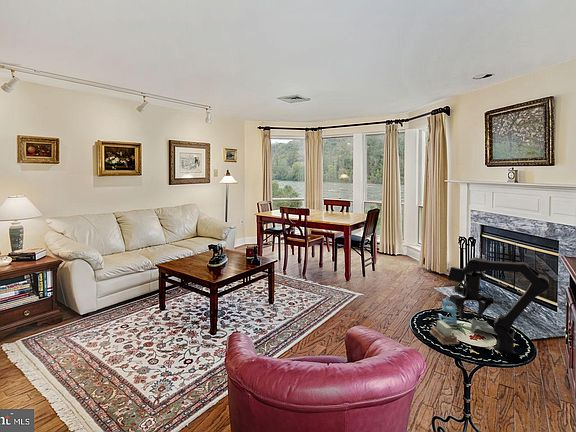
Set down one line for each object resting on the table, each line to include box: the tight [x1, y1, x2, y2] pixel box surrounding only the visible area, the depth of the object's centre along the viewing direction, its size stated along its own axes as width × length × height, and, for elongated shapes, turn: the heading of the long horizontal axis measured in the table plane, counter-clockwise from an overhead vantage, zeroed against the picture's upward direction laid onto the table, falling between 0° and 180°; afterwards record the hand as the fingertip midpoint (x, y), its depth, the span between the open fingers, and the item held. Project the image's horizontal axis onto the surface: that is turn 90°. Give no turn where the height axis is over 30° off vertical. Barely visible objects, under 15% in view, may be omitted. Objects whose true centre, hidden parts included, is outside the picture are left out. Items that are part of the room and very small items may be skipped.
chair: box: [438, 297, 458, 324], centre depth 185 cm, size 8×8×12 cm
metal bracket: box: [468, 318, 498, 336], centre depth 174 cm, size 14×6×15 cm
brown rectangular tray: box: [429, 326, 460, 345], centre depth 166 cm, size 12×8×4 cm, turn 6°
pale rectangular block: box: [436, 319, 452, 337], centre depth 166 cm, size 8×3×6 cm, turn 6°
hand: (469, 316), depth 162 cm, fingers open, 9 cm apart
